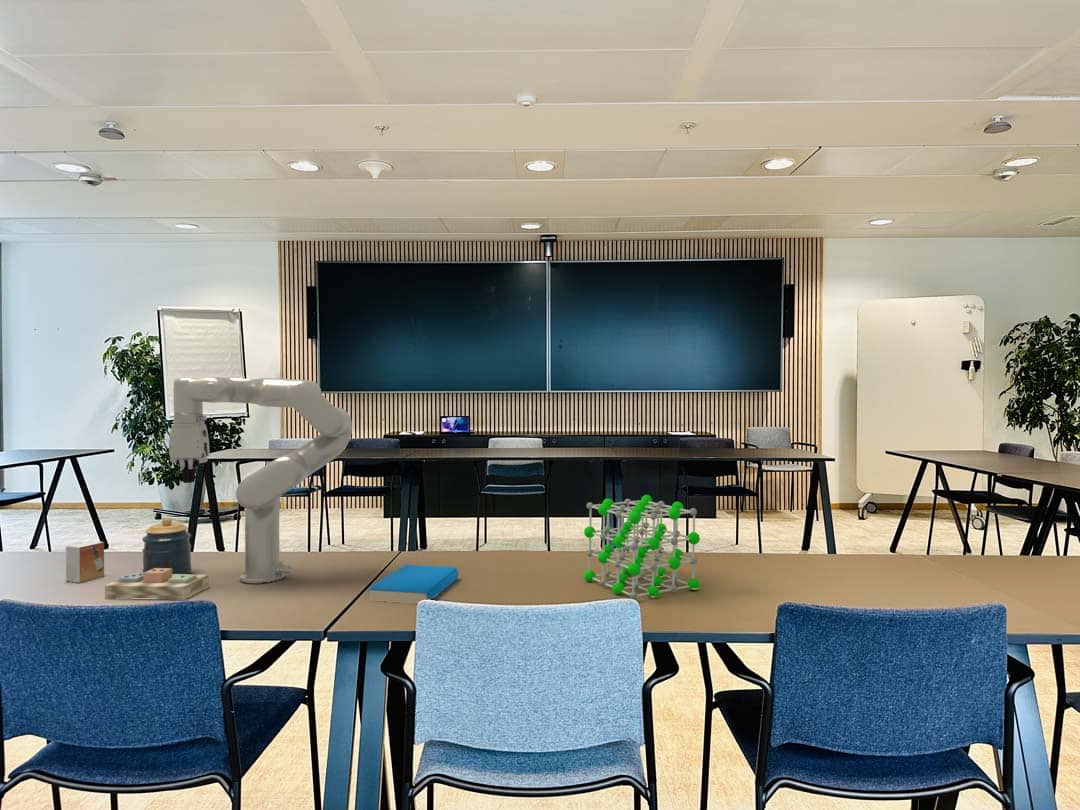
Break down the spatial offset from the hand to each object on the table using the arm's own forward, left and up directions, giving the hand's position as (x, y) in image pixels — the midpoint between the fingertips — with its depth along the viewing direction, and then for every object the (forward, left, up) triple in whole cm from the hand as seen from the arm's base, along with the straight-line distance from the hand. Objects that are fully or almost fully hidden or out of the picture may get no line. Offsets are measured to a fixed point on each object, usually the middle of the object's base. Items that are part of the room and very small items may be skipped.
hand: (189, 482), depth 199 cm
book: (-68, +4, -30) cm, 75 cm away
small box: (+32, 0, -29) cm, 43 cm away
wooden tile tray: (+2, +12, -29) cm, 32 cm away
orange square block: (+2, +12, -26) cm, 29 cm away
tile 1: (-5, +12, -28) cm, 30 cm away
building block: (+9, +12, -27) cm, 31 cm away
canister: (+10, -5, -29) cm, 31 cm away
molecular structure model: (-132, -3, -29) cm, 135 cm away
